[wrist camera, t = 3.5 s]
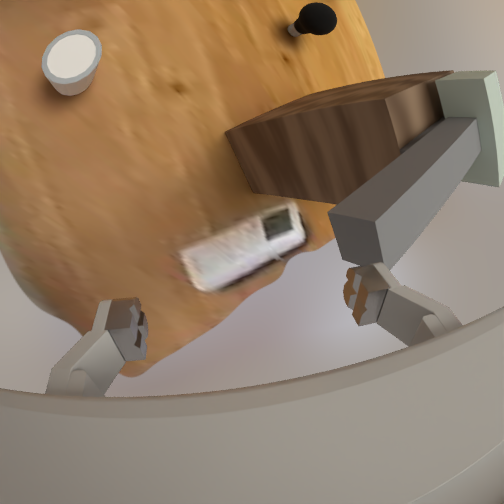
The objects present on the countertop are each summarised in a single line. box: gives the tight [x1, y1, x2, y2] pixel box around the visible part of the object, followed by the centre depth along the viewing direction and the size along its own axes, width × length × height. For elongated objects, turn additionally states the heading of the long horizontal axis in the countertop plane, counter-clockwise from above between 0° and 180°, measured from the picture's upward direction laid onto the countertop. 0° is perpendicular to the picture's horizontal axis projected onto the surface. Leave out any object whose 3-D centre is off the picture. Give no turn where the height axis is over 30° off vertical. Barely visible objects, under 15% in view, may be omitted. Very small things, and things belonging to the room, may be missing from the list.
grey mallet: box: [327, 71, 504, 271], centre depth 17 cm, size 26×10×5 cm, turn 118°
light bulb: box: [288, 3, 337, 37], centre depth 35 cm, size 6×6×10 cm
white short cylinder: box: [42, 30, 102, 96], centre depth 24 cm, size 7×7×7 cm
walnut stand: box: [225, 70, 454, 204], centre depth 33 cm, size 18×10×27 cm, turn 118°
